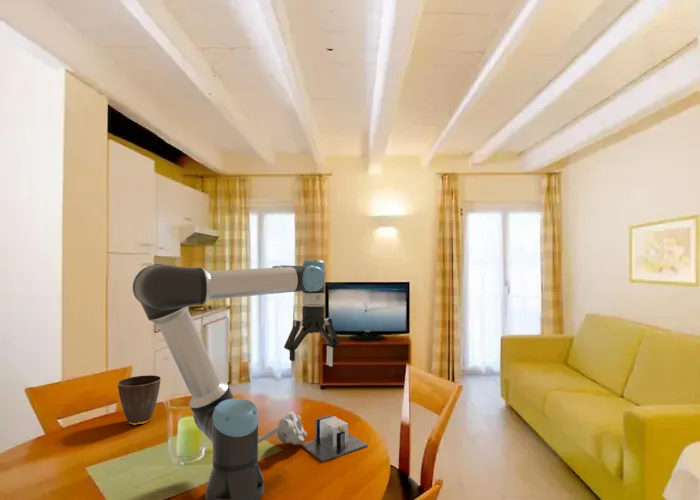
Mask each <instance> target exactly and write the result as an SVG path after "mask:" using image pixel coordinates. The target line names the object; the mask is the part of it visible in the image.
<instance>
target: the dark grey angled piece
mask: <svg viewBox="0 0 700 500" xmlns="http://www.w3.org/2000/svg"><path fill="white" fill-rule="evenodd" d="M330 417H332V415H331V414H328V415H325V416H320V417H317V418H315V420H314V421H315V422H314V423H315V425H314V427H315V430H314V431H315V433H314V434H315V439H312V440H309V441H305V442H300V443H299V447H302V449H304V450H306V451H307V453H309V454H311V455H312V456H313V457H315V458H316V459H318V460H319V461H320V462H321V463H323V462H326V461H329V460H332V459H335V458H338V457H341V456H343V455H344V456H345V455H347V454H350V453H353V452H355V451H358V450H361V449H364V448H367V447H368V446H369V444H367V443H366V442H364V441H362V440H361V439H359V438H357V437H355V436H353V435H352V434H351V433H348V446H347V447H344V434H343V433H342V432H340V433H337V450H335V451H332V450H330V449H329V448H327V447H326V446H324V445H323V444H321V443H320V420H322V419H326V418H330Z"/></svg>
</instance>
